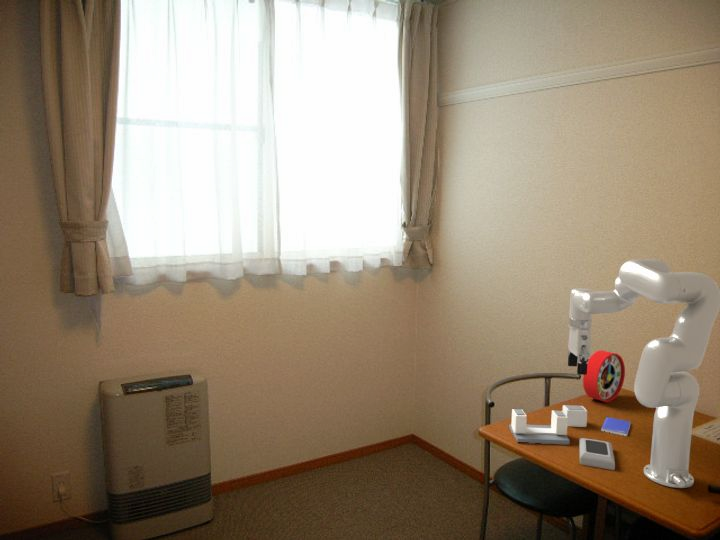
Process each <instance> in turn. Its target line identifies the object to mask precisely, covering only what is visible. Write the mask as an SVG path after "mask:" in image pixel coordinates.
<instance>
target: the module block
mask: <svg viewBox="0 0 720 540" xmlns="http://www.w3.org/2000/svg"><path fill="white" fill-rule="evenodd" d="M562 411H563V412H564V414H565V415H566V416H567V417H568V424H567V427H573V428H574V427H576V428H577V427H579V428H582V427H583V428H587V425H588V424H587V422H588V409H586V407H584V406H583V405H575V404H574V405H568V404H565V405H564V404H563V405H562Z"/></svg>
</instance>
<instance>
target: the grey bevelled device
mask: <svg viewBox="0 0 720 540" xmlns="http://www.w3.org/2000/svg"><path fill="white" fill-rule="evenodd" d="M578 444H579V445H578V447H579V449H578V450H579V451H578V452H579V465H583V466H587V467H594V468H600V469H604V470H605V469H606V470H610V471H611V470H612V471H615V470H616V469H615V468H616V462H615V455H614V450H613V445H612V443H611V442H609V441H605V440H598V439H591V438H586V437H580V438H579V442H578Z"/></svg>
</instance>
